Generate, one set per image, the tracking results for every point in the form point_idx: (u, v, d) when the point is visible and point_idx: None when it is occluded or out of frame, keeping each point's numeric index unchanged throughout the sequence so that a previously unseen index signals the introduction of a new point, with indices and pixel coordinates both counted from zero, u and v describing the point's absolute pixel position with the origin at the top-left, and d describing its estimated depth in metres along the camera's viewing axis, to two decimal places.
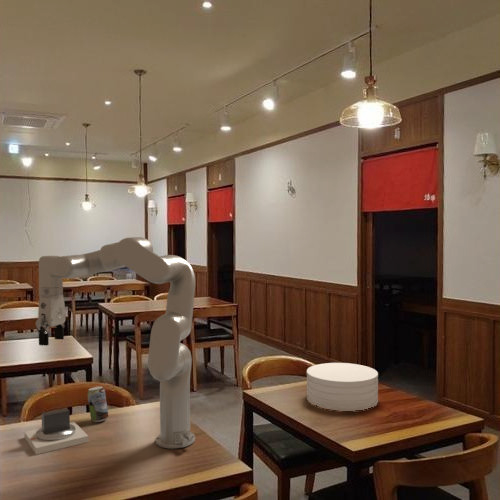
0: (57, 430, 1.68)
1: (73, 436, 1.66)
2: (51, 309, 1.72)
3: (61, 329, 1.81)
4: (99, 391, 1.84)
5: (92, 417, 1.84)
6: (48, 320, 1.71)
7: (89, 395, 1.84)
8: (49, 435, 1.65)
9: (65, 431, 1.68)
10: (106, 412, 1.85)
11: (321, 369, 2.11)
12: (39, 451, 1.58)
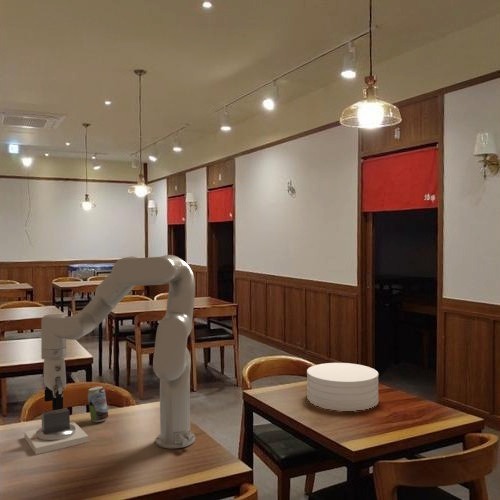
0: (57, 430, 1.68)
1: (73, 436, 1.66)
2: (65, 370, 1.66)
3: None
4: (99, 391, 1.84)
5: (92, 417, 1.84)
6: (63, 382, 1.65)
7: (89, 395, 1.84)
8: (49, 435, 1.65)
9: (65, 431, 1.68)
10: (106, 412, 1.85)
11: (321, 369, 2.11)
12: (39, 451, 1.58)
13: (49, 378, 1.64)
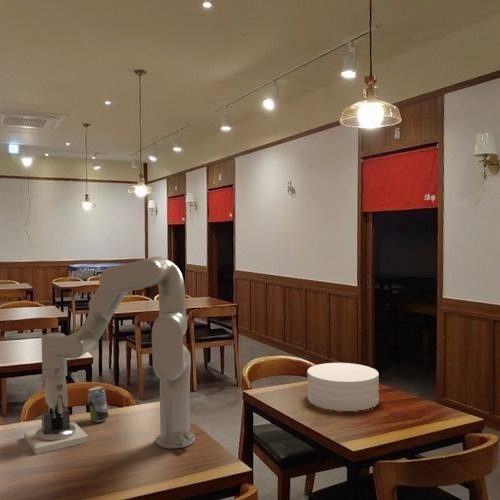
0: (57, 430, 1.68)
1: (73, 436, 1.66)
2: (66, 389, 1.66)
3: None
4: (99, 391, 1.84)
5: (92, 417, 1.84)
6: (65, 401, 1.66)
7: (89, 395, 1.84)
8: (49, 435, 1.65)
9: (65, 431, 1.68)
10: (106, 412, 1.85)
11: (322, 369, 2.11)
12: (39, 451, 1.58)
13: (51, 397, 1.64)
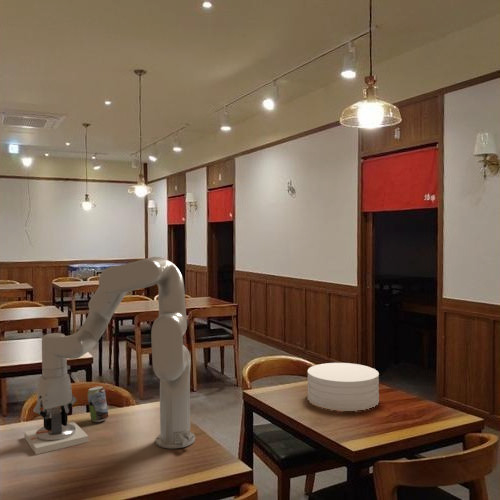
0: None
1: (73, 436, 1.66)
2: None
3: None
4: (99, 391, 1.84)
5: (92, 417, 1.84)
6: None
7: (89, 395, 1.84)
8: (67, 431, 1.68)
9: (65, 426, 1.72)
10: (106, 412, 1.85)
11: (322, 369, 2.11)
12: (39, 451, 1.58)
13: (68, 392, 1.70)
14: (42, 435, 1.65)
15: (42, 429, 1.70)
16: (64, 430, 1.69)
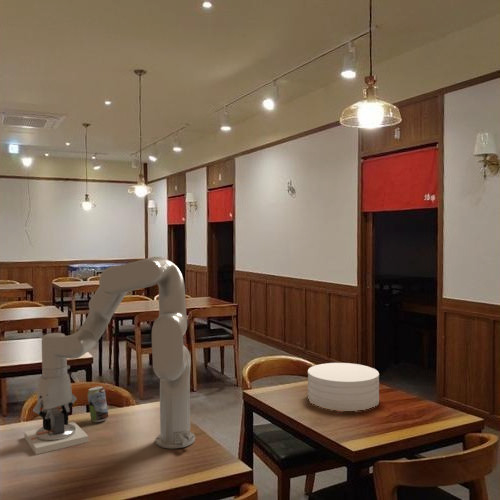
0: None
1: (73, 436, 1.66)
2: None
3: None
4: (99, 391, 1.84)
5: (92, 417, 1.84)
6: None
7: (89, 395, 1.84)
8: (69, 430, 1.69)
9: None
10: (106, 412, 1.85)
11: (322, 369, 2.11)
12: (39, 451, 1.58)
13: (68, 392, 1.70)
14: (44, 435, 1.64)
15: (41, 430, 1.69)
16: (65, 429, 1.69)
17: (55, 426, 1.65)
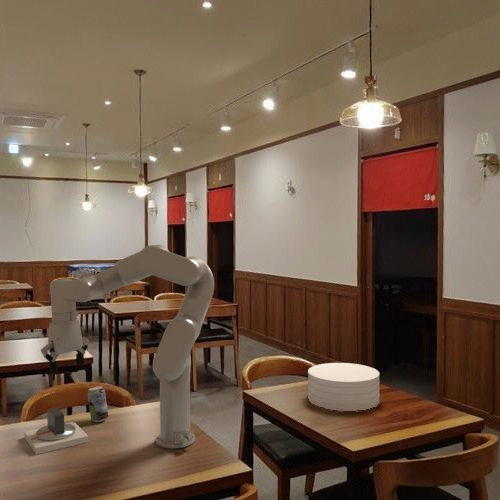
0: None
1: (73, 436, 1.66)
2: None
3: None
4: (99, 391, 1.84)
5: (92, 417, 1.84)
6: None
7: (89, 395, 1.84)
8: (69, 430, 1.69)
9: None
10: (106, 412, 1.85)
11: (322, 369, 2.11)
12: (39, 451, 1.58)
13: (79, 337, 1.70)
14: (44, 435, 1.64)
15: (41, 430, 1.69)
16: (65, 429, 1.69)
17: (55, 426, 1.65)
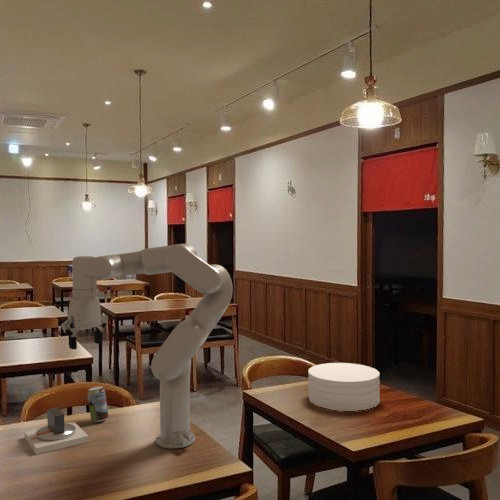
0: None
1: (73, 436, 1.66)
2: None
3: None
4: (99, 391, 1.84)
5: (92, 417, 1.84)
6: None
7: (89, 395, 1.84)
8: (69, 430, 1.69)
9: None
10: (106, 412, 1.85)
11: (323, 369, 2.11)
12: (39, 451, 1.58)
13: (98, 315, 1.71)
14: (44, 435, 1.64)
15: (41, 430, 1.69)
16: (65, 429, 1.69)
17: (55, 426, 1.65)
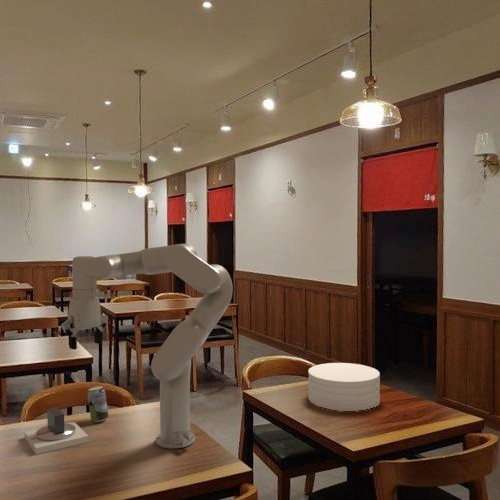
0: None
1: (73, 436, 1.66)
2: None
3: None
4: (99, 391, 1.84)
5: (92, 417, 1.84)
6: None
7: (89, 395, 1.84)
8: (69, 430, 1.69)
9: None
10: (106, 412, 1.85)
11: (323, 369, 2.11)
12: (39, 451, 1.58)
13: (98, 315, 1.71)
14: (44, 435, 1.64)
15: (41, 430, 1.69)
16: (65, 429, 1.69)
17: (55, 426, 1.65)
